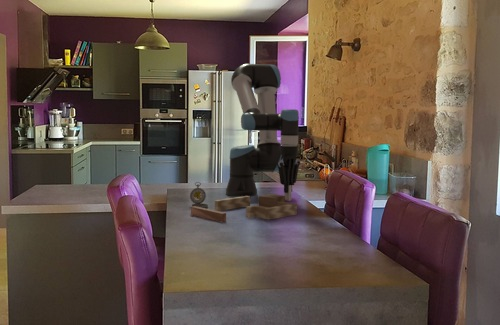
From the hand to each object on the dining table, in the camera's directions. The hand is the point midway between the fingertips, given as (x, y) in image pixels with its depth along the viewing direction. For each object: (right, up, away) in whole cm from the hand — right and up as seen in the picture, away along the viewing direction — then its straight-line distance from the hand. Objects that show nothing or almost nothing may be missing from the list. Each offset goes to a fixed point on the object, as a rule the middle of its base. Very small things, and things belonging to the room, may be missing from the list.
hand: (287, 200), depth 233 cm
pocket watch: (-37, -2, -9) cm, 38 cm away
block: (-7, -3, -7) cm, 10 cm away
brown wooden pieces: (-19, -4, -23) cm, 30 cm away
